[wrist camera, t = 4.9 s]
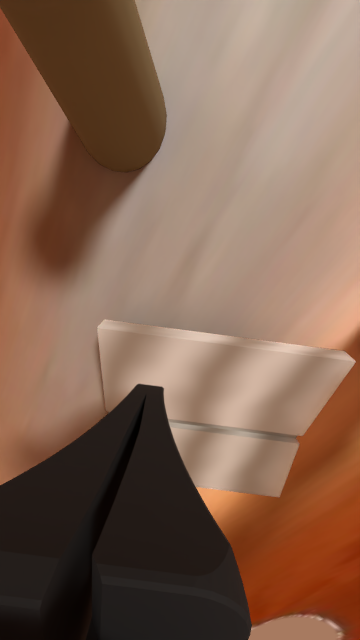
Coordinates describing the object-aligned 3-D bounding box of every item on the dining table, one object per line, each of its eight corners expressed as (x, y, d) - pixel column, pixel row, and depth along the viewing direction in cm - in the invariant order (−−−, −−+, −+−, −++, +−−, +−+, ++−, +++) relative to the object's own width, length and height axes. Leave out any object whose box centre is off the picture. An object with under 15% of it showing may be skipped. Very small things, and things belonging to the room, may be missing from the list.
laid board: (294, 428, 19) (301, 438, 18) (274, 484, 21) (279, 497, 20) (110, 404, 19) (105, 413, 18) (108, 463, 21) (103, 475, 20)
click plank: (344, 351, 15) (355, 361, 13) (296, 423, 19) (302, 436, 18) (104, 319, 14) (97, 327, 13) (110, 399, 19) (105, 410, 18)
